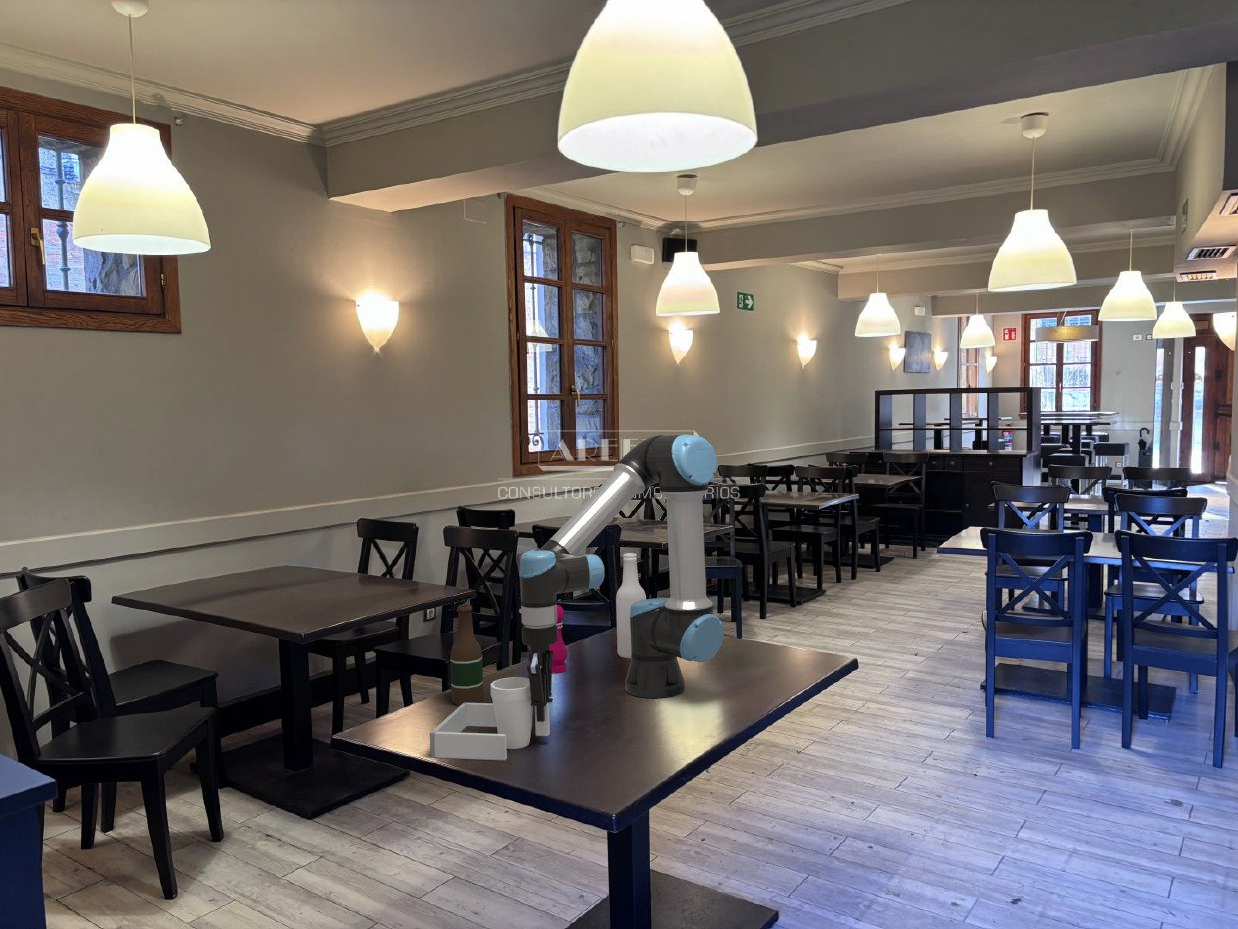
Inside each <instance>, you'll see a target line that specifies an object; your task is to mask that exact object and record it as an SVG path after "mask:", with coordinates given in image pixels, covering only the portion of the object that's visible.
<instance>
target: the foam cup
mask: <svg viewBox="0 0 1238 929" xmlns="http://www.w3.org/2000/svg"><path fill="white" fill-rule="evenodd" d="M490 697H491V699H492V703H493V706H494V712H495V718H496V724H497V727H496V729H497V730H496V731H497V734H506V748H507V749H508V750H516V749H517V750H518V749H523V748H525V747H527V746H529V744H530V740H531V734H532V727H533V715H534V714H533V712H534V706H531V692H530V683H529V677H523V676H510V677H505V678H499V679H496V680H493V681H492V682H491V683H490ZM531 726H532V727H531Z"/></svg>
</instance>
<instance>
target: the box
mask: <svg viewBox="0 0 1238 929" xmlns="http://www.w3.org/2000/svg"><path fill="white" fill-rule="evenodd" d="M467 727H491V728H497V724H496V718H495V712H494V706H493V702H492V703H489V702H488V703H486V702H485V703H484V702H480V703H463V704H462V705H461V706H458V707H457V708H456V709H455V710H454V711H453V712H452V713H450V714H449V715H448V716H447V717H446V718H445V719H444V720H443V721H441V723H439V724H438V725H437V726H436V727H435V728H434V729H433V730H431V731H430V733H429V749H430V753H429V754H430V758H439V759H460V760H461V759H462V760H463V759H464V760H465V759H466V760H488V761H506V760H507V759H508V753H507V752H508V751H507V748H506V734H498V733H483V732H481V733H479V732H463V730H465V729H466V728H467ZM532 727H533V725H532V726H531V728H532Z"/></svg>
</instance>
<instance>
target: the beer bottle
mask: <svg viewBox="0 0 1238 929" xmlns="http://www.w3.org/2000/svg"><path fill="white" fill-rule="evenodd" d="M456 611H457V613H458V614H457V634H456V639H455V641H454V643H453V644H452V646H451V650H450V655H449V656H450V658H449V660H450V665H449V666H450V687H451V702H452V704H454V705H455V706H458V707H459V706H461V705H462V704H463V703H482V701H483V700H484V673H483V670H484V669H483V652H482V648H481V645H480V643H479V642H478V640H477V638H476V637H475V634H474V625H473V614H472V611H473V606H472V605H470V604H461V605H459V606H457V608H456Z"/></svg>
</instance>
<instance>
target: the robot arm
mask: <svg viewBox="0 0 1238 929" xmlns="http://www.w3.org/2000/svg"><path fill="white" fill-rule="evenodd" d="M612 469H613V473H612V474H611V475H610V476H609V477H608V478H607V479H606V480H605V482H603V484H602V485H601V486H599V488H598V489H597V490H596V491H595V492H594V493H593V494H592V495H591V496H590V497H589V498H588V499H587V500H586V501H585V502H584V503H583V504H582V505H581V506H580V507H579V508H578V510H576V511H575V513H573V515H572V516H571V517H570V518H569V519H568V520H567V521H566V522H564V524H563V525H562V526H561V527H560V528H559V529H558V530H557V532H555V534H554V535H552V537H551V538H549V540H548V541H547V542H546V543H544V545H543V546H541V547H540V548H534V549H533V548H532V549H531V550H529V551H525V552H523V553H522V554H521V556H520V561H519V572H518V573H519V574H518V575H519V582H520V584H519V585H520V587H519V588H520V607H521V608H519V610H518V612H519V613H520V614H521V624H522V625H523V626H522V627H521V643H522V644H523V645H524V646H526V647H527V646H529V648H530V652H529V654H528V661H529V663H528V664H527V665H526V670H527V673H528V678H529V683H530V692H531V706H533V707H534V719H535V720H534V721H535V736H536V737H537V736H538V737H540V736H541V737H548V736H550V733H551V730H550V727H551V726H550V724H551V722H550V704H549V703H553V700H554V699H553V698H551V697H552V681H553V679H552V678H553V675H552V658H553V650H549V649H550V647H549V645H552V644H555V643H556V642H557V640H558V636H557V626H556V624H555V623H556V622H557V605H558V604H557V595H559V594H565V593H572V592H580V591H585V590H586V591H588V590H592V589H594V588H598V587H600V586H601V585H602V584H603V582H604V579H605V576H606V574H605V565H604V563H603V560H602V559H601V558H600V556H598V555H597V554H586V553H584V554H582V555H581V553H582V552H584V550H585V549H586V548H587V547H588V546H589V545H590V544H591V543H592V541H593V540H594V539H596V537H597V536H598V535H599V534H600V533H601V532H602V531H603V530H604V529H605V528H606V526H608V524H609V523H610V522H611V521H612V520H613V519H614V518H615V517H616V516H617V515H618V514H619V512H621V510H622V509H624V507H625V506H626V505H627V504H628V503H629V502H630V501H631V500H632V499H633V497H635V495H642V494H643V493H644V492H645V491H646V490H647V489H648V488H649V487H650V486H652V485H654V484H659V493H660V494H661V495H662V496H663V497H664V498H665V500H666V520H667V522H666V523H667V544H668V568H669V569H668V570H669V589H670V590H669V593H670V597H660V598H659V597H658V598H657V597H656V598H648V599H647V598H646V600H641V601H637V602H634V603H633V604H632V605H631V610H630V630H631V658H630V659H631V661H630V664H629V667H628V670H627V674H626V677H625V681H624V683H625V686H624V687H625V689H624V690H625V692H626V693H628V694H629V695H631V696H634V697H639V698H647V699H649V698H650V699H659V698H668V697H674V696H677V695H680V694H681V693H683V692H684V691H685V689H686V688H685V678H684V675H683V673H682V670H681V667H680V666H681V665H680V663H679V661H678V658H679V659H683V660H685V661H687V662H695V663H696V662H697V663H705V662H707V661H708V660H710V659H712V658H713V657H714V656H715V655H716V654H717V652H718V651H719V650H720V648H721V646H722V643H723V641H724V636H725V629H724V625H723V622H722V621H721V620H720V617H718V616H716V615H715V614H714V605H713V604H714V603H713V601H711V599H710V598H708V597H707V584H706V560H705V558H706V557H705V532H704V511H703V509H704V508H703V506H704V505H703V498H704V496H705V495H706V494H707V493H708V491H709V483H710V482H712V480H714V479H715V475H716V474H717V472H718V458H717V453H716V451H715V449H714V447H713V445H712V444H711V443H709V441H708V440H707V439H705V438H704V437H702V436H699V435H694V434H693V435H692V434H680V435H679V434H676V435H671V434H670V435H653V436H650V437H648V438H646V439H644V440H643V441H641V442H640V443H638V444H637V445H635V446H634V447H633V448H631V449H630V450H629V451H628V452H627V453H626V454H625V455H624V456H622V457H621V459H620V460H619V461H618V462H617V463H615V465H614V466H613V468H612Z"/></svg>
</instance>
